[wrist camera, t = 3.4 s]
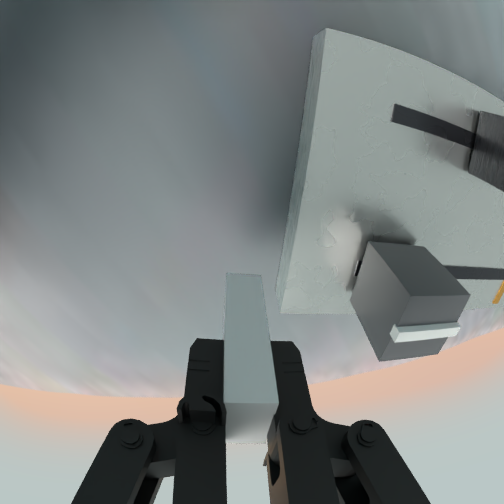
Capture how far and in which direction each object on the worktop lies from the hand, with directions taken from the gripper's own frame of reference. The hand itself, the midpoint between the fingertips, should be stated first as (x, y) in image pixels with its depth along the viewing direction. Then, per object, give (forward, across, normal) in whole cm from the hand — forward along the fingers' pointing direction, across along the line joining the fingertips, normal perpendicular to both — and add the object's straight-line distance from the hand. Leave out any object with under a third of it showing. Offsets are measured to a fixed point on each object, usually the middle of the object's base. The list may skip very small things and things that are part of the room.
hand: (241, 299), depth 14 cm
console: (+6, +18, +5) cm, 19 cm away
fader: (+3, +9, 0) cm, 9 cm away
